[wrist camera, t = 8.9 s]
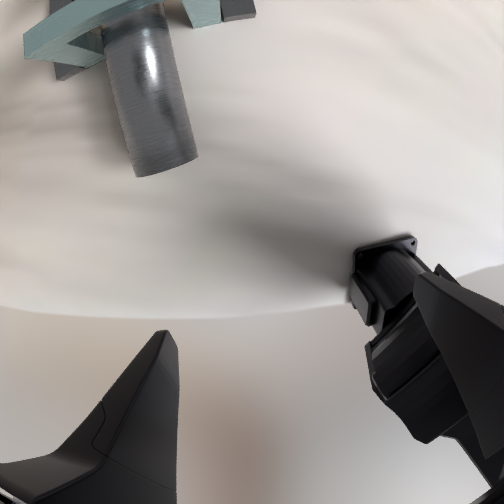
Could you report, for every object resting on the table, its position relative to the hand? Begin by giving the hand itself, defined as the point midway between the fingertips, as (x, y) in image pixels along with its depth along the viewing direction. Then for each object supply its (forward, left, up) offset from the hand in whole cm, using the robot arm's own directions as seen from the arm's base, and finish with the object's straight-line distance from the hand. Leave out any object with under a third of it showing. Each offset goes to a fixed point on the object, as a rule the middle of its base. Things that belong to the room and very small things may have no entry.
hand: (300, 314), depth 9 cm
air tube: (+5, -13, -12) cm, 18 cm away
